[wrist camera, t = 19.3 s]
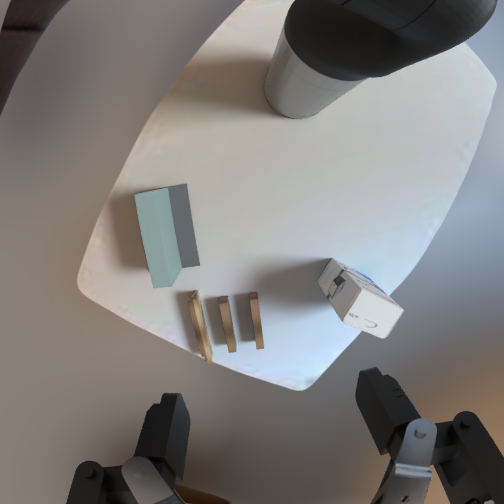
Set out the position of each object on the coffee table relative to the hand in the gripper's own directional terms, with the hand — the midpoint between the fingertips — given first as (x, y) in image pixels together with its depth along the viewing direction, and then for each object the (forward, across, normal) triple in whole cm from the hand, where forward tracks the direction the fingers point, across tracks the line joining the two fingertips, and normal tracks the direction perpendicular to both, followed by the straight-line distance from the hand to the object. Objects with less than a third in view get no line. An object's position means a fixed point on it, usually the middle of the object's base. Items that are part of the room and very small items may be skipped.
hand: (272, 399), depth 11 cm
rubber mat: (+30, +12, -3) cm, 32 cm away
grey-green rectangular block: (+26, +12, -9) cm, 30 cm away
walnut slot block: (+30, +2, +13) cm, 33 cm away
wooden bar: (+30, +9, +13) cm, 34 cm away
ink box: (+30, -15, +9) cm, 35 cm away
